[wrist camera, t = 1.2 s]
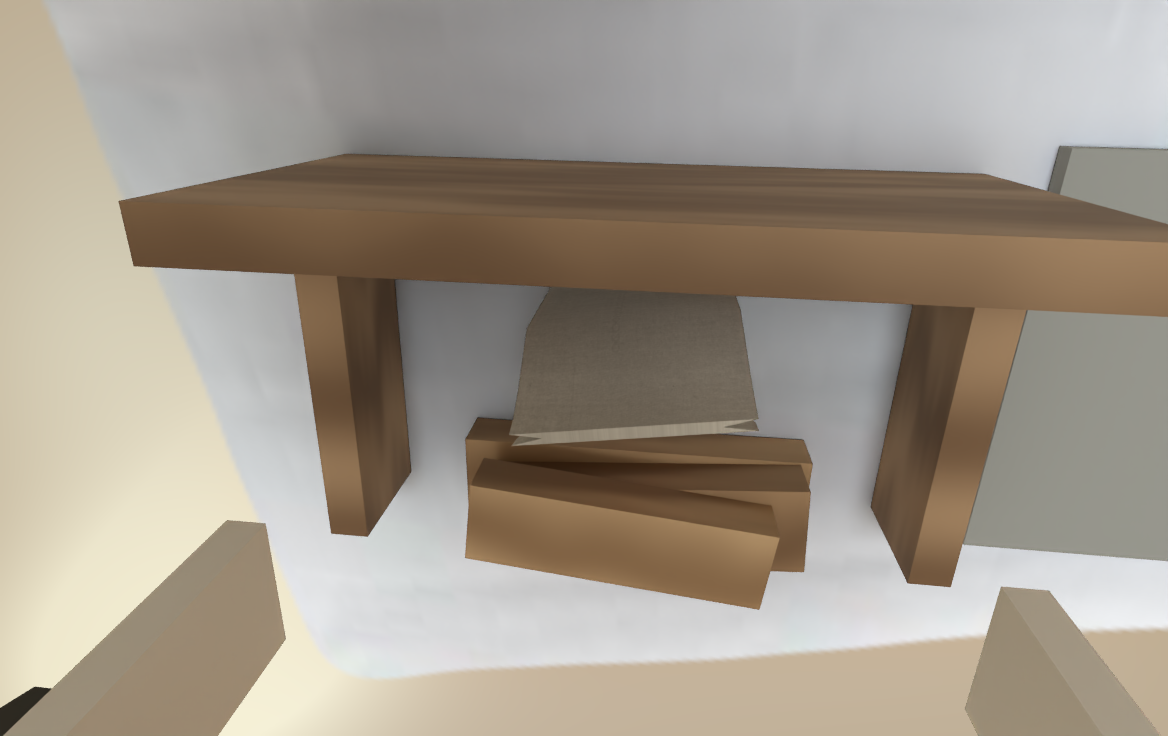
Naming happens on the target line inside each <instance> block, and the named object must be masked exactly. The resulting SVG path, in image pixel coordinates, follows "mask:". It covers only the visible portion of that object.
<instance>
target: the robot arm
mask: <svg viewBox="0 0 1168 736" xmlns="http://www.w3.org/2000/svg"><path fill="white" fill-rule="evenodd" d="M285 639H286V637H285V631H284V626H283V620H282V614H281V609H280V603H279V598H278V592H277V586H276V581H275V574H274V569H273V563H272V557H271V552H270V546H269V540H268V535H267V529H266V524H265V523H253V522H241V521H229V520H227V521H226V522H225V523H224V524H223V525H222V526H220V528H218V529H217V530H216V531H215V532H214V533H213V534H212V535H211V536H210V537H209V538H208V539H207V540H206V541H205V542H204V543H203V544H202V545H201V546H200V547H199V548H198V549H197V550H196V551H195V552H193V553H192V554H191V555H190V557H188V558H187V559H186V560H185V561H184V562H183V563H182V564H181V565H180V566H179V567H178V568H177V569H176V570H175V571H174V572H173V573H172V574H171V575H170V576H169V577H168V578H167V579H165V580H164V581H163V582H162V583H161V584H160V585H159V586H158V587H157V588H156V589H155V590H154V591H153V592H152V593H151V594H150V595H149V596H148V597H147V598H146V599H145V600H144V601H143V602H142V603H140V604H139V605H138V606H137V607H136V609H134V610H133V611H132V612H131V613H130V614H129V615H128V616H127V617H126V618H125V619H124V620H123V621H122V622H121V623H120V624H119V625H118V626H117V627H116V628H115V629H113V630H112V631H111V632H110V633H109V634H108V635H107V636H106V637H105V638H104V639H103V640H102V641H101V642H100V643H99V644H98V645H97V646H96V647H95V648H94V649H93V650H92V651H91V652H90V653H89V654H88V655H87V656H85V657H84V658H83V659H82V660H81V661H80V663H78V664H77V665H76V666H75V667H74V668H73V669H72V670H71V671H70V672H69V673H68V674H67V675H66V676H65V677H64V678H63V679H62V680H61V681H60V682H58V683H57V684H56V685H55V686H54V687H53V688H52V689H50V688H42V687H34V688H32V689H30V690H29V691H27V692H25V693H24V694H22V695H20V696H19V697H17V698H16V699H14V700H12V701H11V702H9V703H8V704H6V705H4V706H3V707H1V708H0V736H218V735H219V733H220V732H221V731H222V729H223V728H224V726H225V725H226V723H227V722H228V721H229V719H230V718H231V716H232V715H233V713H234V712H235V710H236V709H237V708H238V706H239V705H240V703H241V702H242V701H243V699H244V698H245V696H246V695H247V694H248V692H249V691H250V689H251V687H252V686H253V685H254V684H255V682H256V681H257V679H258V678H259V676H260V675H261V674H262V672H263V671H264V669H265V668H266V666H267V665H268V664H269V662H270V661H271V659H272V658H273V656H274V655H275V654H276V652H277V651H278V649H279V648H280V646H281V645H282V644H283V642H284V641H285ZM965 710H966V712H967V713H968V716H969V718H970V720H971V722H972V724H973V726H974V728H975V730H976V732H977V734H978V736H1161V735H1160V734H1159V732H1158V731H1157V730H1156V728H1155V727H1154V726H1153V724H1152V723H1151V722H1150V721H1149V719H1148V718H1147V717H1146V715H1145V714H1144V713H1143V712H1142V710H1141V709H1140V708H1139V706H1138V705H1137V704H1136V703H1135V701H1134V700H1133V699H1132V697H1131V696H1130V695H1129V693H1128V692H1127V691H1126V690H1125V688H1124V687H1123V686H1122V684H1121V683H1120V682H1119V681H1118V679H1117V678H1116V677H1115V675H1114V674H1113V673H1112V672H1111V670H1110V669H1109V668H1108V666H1107V665H1106V664H1105V663H1104V661H1103V660H1102V659H1101V657H1100V656H1099V655H1098V653H1097V652H1096V651H1095V650H1094V648H1093V647H1092V646H1091V645H1090V643H1089V642H1088V640H1087V639H1086V638H1085V637H1084V635H1083V634H1082V633H1081V631H1080V630H1079V629H1078V628H1077V626H1076V625H1075V624H1074V622H1073V621H1072V620H1071V619H1070V617H1069V616H1068V615H1067V613H1066V612H1065V611H1064V609H1063V608H1062V607H1061V606H1060V604H1059V603H1058V602H1057V600H1056V599H1055V598H1054V597H1053V595H1052V594H1051V593H1050V591H1046V590H1034V589H1023V588H1011V587H1001V589H1000V592H999V596H998V599H997V602H996V606H995V609H994V612H993V616H992V619H991V622H990V626H989V629H988V633H987V636H986V639H985V643H984V646H983V650H982V653H981V656H980V659H979V663H978V666H977V669H976V673H975V676H974V679H973V683H972V686H971V690H970V693H969V696H968V700H967V703H966V706H965Z"/></svg>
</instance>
